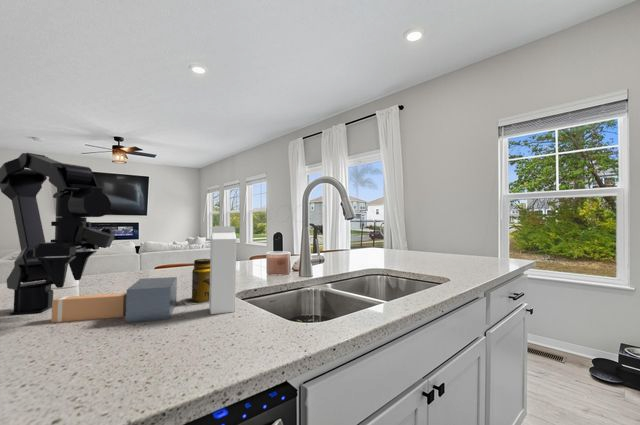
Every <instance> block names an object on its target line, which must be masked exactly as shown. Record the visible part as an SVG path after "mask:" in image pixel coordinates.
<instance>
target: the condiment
mask: <svg viewBox="0 0 640 425" xmlns="http://www.w3.org/2000/svg"><path fill="white" fill-rule="evenodd" d="M193 264H194V265H193V267H194V268H193V269H192V276H191V278H192V279H191V297H190V298H187V297H185V298H181V300H182V301H183V303H184V304H185V306H189V305H190V306H191V305H197V304H208V303H209V300H210V258H199V259H195V260H194V261H193Z"/></svg>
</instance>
